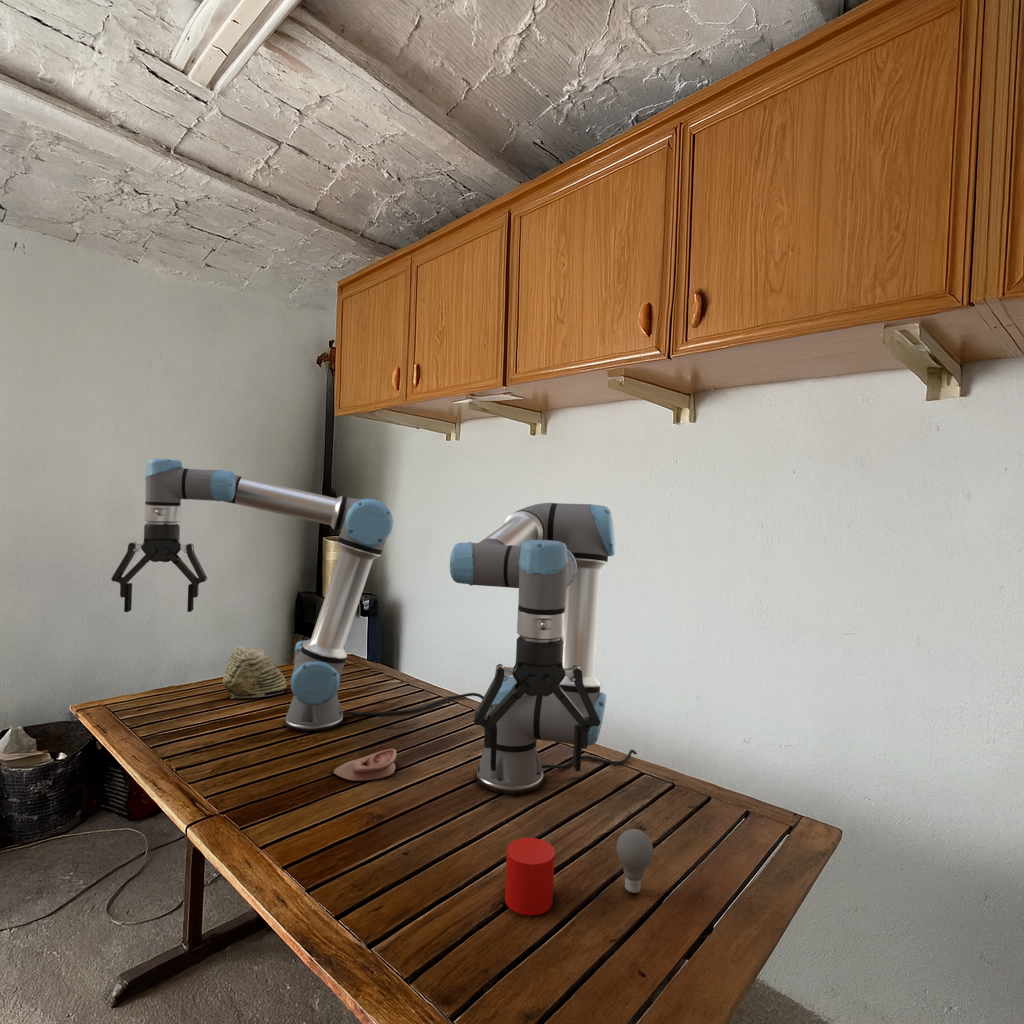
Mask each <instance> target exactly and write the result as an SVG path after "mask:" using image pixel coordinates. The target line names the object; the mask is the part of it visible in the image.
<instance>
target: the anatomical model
mask: <svg viewBox="0 0 1024 1024" xmlns="http://www.w3.org/2000/svg"><path fill="white" fill-rule="evenodd" d="M396 759H397V750H396V749H395V748H389V749H388V748H387V749H384V750H380V751H377V752H374V753H372V754H369V755H366V756H363V757H361V758H357V759H353V760H350V761H347V762H345V763H342V764H341V765H339V766H337V767H336V768H334V769H333V774H334V775H336V776H338V777H339V778H342V779H345V780H348V781H354V782H359V781H372V780H377V779H382V778H386V777H388V776H391V775H393V773H394V772H395V771H396V764H395V760H396Z"/></svg>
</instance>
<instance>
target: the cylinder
mask: <svg viewBox="0 0 1024 1024" xmlns="http://www.w3.org/2000/svg"><path fill="white" fill-rule="evenodd" d="M555 853H556V852H555V848H554V847H553V846H552V844H550V842H547V841H545V840H543V839H539V838H536V837H521V838H517V839H515V840H512V841H511V842H510V843H509V844H508V845H507V847H506V859H505V860H506V862H505V885H504V902H505V904H506V907H508V908H509V909H510V910H511V911H512V912H514V913H516V914H518V915H523V916H539V915H542V914H545V913H547V912H548V911H549V910H550V909H551V908H552V906H553V900H554V899H553V898H554V877H555V859H556V858H555V856H556V854H555Z"/></svg>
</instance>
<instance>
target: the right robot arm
mask: <svg viewBox="0 0 1024 1024" xmlns="http://www.w3.org/2000/svg"><path fill="white" fill-rule="evenodd" d="M615 546H616V543H615V529H614V521H613V514H612V511H611V509H610V508H609V507H608V506H606V505H600V504H592V503H562V502H561V503H558V502H542V503H536V504H532V505H529V506H525V507H523V508H520V509H518V510H516V511H514V512H512V513H510V515H508V516H507V517H506V519H505V520H504V521H503V524H502V525H501V526H500V527H499V528H497V529H496V530H495V531H493V532H491V533H490V534H489V535H487V536H486V537H485V538H483V539H482V540H480V541H479V542H472V541H468V542H457V543H456V544H454V546H453V548H452V550H451V553H450V556H449V574H450V577H451V579H452V580H453V582H455V583H456V584H463V585H469V586H470V587H472V586H480V587H481V586H483V587H496V588H510V589H518V604H517V618H516V619H517V620H516V622H517V623H516V633H517V635H518V637H517V638H516V645H515V646H516V647H515V648H516V649H515V664H514V666H513V667H509V666H504V665H503V664H502V663H498V664H497V665H496V667H495V673H494V677H493V679H492V681H491V683H490V685H489V687H488V688H487V690H486V692H485V694H484V695H483V696H484V698H483V699H482V698H481V702H480V704H479V705H478V707H477V708H476V710H475V712H474V714H473V723H474V725H476V726H481V727H483V728H484V733H483V734H484V735H483V738H484V739H483V743H484V744H483V746H484V749H483V752H482V755H481V758H480V761H479V763H478V765H477V767H476V781H477V783H478V784H479V785H480V786H481V787H482V788H484V789H485V790H488V791H491V792H493V793H498V794H504V795H521V794H527V793H531V792H533V791H536V790H538V789H539V788H540V787H541V786H542V785H543V783H544V771H543V769H565V768H568V767H569V766H571V765H573V767H574V770H575V772H581V768H582V767H581V765H582V764H581V763H582V762H581V761H582V760H584V759H585V760H592V761H596V762H599V763H603V764H608V765H624V764H625V763H627V762H628V761H629V760H630V758H631V757H632V754H633V755H637V754H638V753H637V751H636V750H635V749H629V751H628V753H627V755H626V756H625V758H624V759H622V760H607V759H605V758H604V759H603V758H600V757H595V756H591V755H582V749H585V750H587V748H588V746H593V745H595V744H596V743H597V741H598V740H599V736H600V733H601V729H602V725H603V719H604V714H605V708H606V702H607V694H606V693H605V692H604V691H601V683H600V682H599V681H598V679H597V678H596V676H595V670H596V669H595V668H596V667H595V666H596V652H597V632H598V618H599V598H600V586H601V585H600V583H601V572H602V569H604V568H605V567H606V566H607V565H608V561H609V560H608V559H609V557H613V556H614V555H615V553H616V547H615ZM538 740H540V741H547V742H555V743H563V744H569V745H573V752H572V758H571V759H570V760H569V761H568V762H567V763H565V764H541V759H540V757H539V756H540V755H539V752H538V749H537V741H538Z"/></svg>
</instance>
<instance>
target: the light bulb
mask: <svg viewBox="0 0 1024 1024" xmlns="http://www.w3.org/2000/svg"><path fill="white" fill-rule="evenodd" d="M615 849H616V854H617V857H618V859H619V861H620V863H621V865H622V867H623V873H624V874H623V875H624V876H625V878H624V888H625V890H627V891H628V892H630V893H634V894H635V893H639V892H640V891H641V889H642V887H641V886H642V879H643V877H644V875H645V871H646V868H647V867H648V866H649V864H650V863H651V861H652V859H653V855H654V847H653V843H652V841H651V838H649V836H648V835H647V834H646V833H645V832H643V831H642V830H641V829H636V828H629V829H627V830H625V831H623V832H622V833H621V834H620V835H619V837H618V839H617V841H616V847H615Z"/></svg>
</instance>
